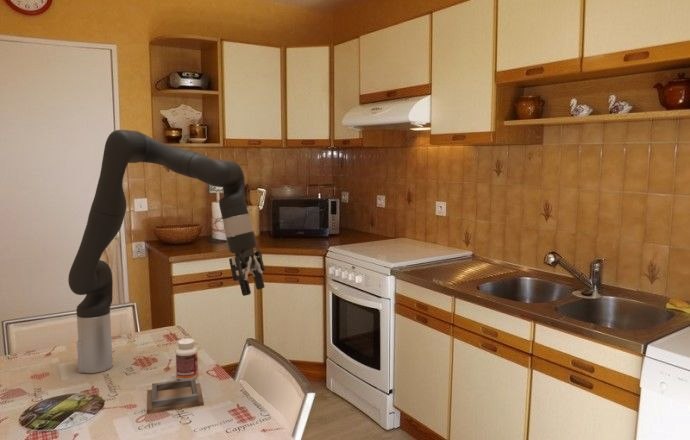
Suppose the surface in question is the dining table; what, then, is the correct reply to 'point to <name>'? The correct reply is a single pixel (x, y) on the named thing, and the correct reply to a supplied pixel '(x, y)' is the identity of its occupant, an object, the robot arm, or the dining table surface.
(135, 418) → the dining table surface
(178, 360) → the pill bottle
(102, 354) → the robot arm
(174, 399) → the grey shallow rectangular tray
